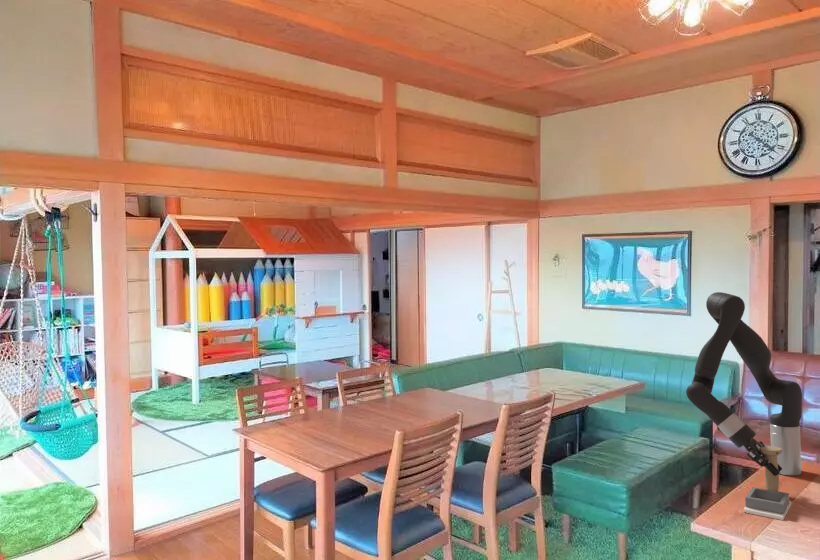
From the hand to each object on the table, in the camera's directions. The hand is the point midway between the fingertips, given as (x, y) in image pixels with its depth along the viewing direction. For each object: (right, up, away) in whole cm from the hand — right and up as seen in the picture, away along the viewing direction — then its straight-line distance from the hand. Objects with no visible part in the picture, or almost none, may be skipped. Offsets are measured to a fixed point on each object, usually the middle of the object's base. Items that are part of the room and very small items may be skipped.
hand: (778, 472), depth 197 cm
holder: (-10, -8, -10) cm, 16 cm away
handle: (-1, -8, +1) cm, 8 cm away
